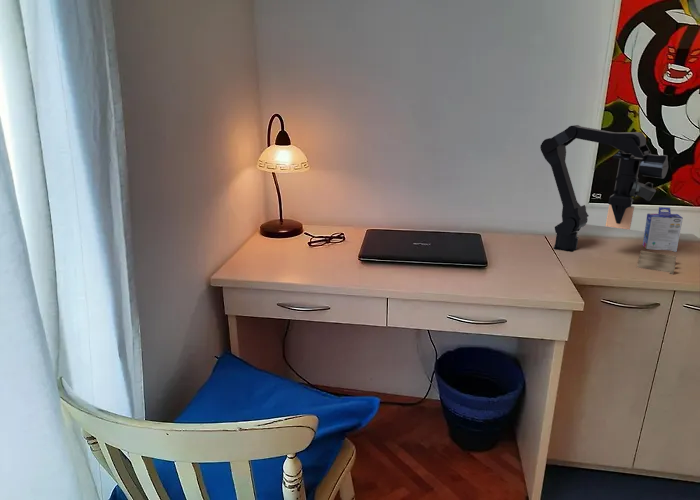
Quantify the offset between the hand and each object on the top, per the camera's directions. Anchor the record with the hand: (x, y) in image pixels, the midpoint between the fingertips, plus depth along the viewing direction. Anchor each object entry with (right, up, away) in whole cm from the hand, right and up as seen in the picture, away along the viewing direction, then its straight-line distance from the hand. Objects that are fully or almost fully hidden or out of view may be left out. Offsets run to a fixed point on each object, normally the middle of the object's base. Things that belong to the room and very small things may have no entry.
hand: (618, 222), depth 172 cm
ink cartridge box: (+21, -9, +14) cm, 26 cm away
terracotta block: (0, -2, 0) cm, 2 cm away
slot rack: (+10, -14, -2) cm, 18 cm away
